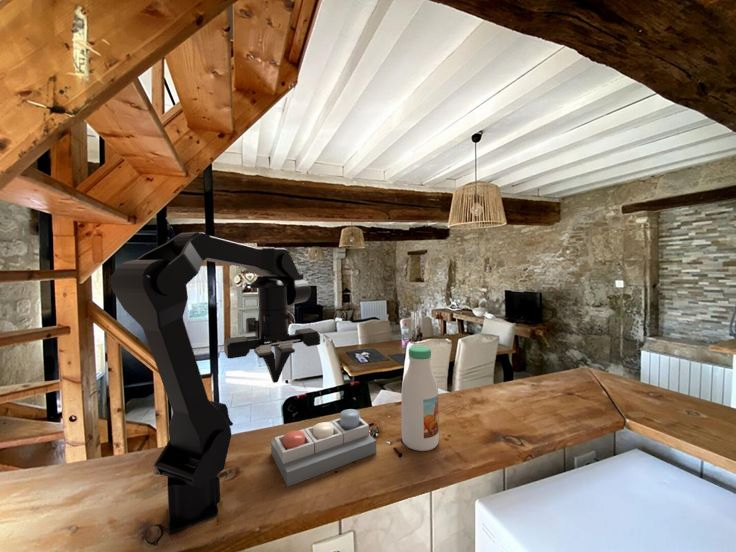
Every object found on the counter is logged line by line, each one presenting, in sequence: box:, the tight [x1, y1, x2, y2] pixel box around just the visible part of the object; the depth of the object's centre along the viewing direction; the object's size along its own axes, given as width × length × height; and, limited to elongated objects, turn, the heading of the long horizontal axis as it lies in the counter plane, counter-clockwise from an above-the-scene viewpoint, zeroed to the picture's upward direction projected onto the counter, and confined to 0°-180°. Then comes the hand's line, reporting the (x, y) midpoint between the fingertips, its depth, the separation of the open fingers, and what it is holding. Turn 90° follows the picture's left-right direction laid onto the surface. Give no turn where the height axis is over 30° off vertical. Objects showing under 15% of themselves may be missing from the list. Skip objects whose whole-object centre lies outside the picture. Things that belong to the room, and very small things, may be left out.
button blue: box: [339, 408, 361, 430], centre depth 66 cm, size 4×4×2 cm
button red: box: [283, 430, 305, 450], centre depth 60 cm, size 4×4×2 cm
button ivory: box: [313, 421, 334, 440], centre depth 63 cm, size 4×4×2 cm
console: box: [270, 417, 377, 487], centre depth 63 cm, size 18×11×4 cm, turn 121°
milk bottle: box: [401, 345, 440, 452], centre depth 66 cm, size 8×8×20 cm
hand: (275, 382), depth 67 cm, fingers closed
